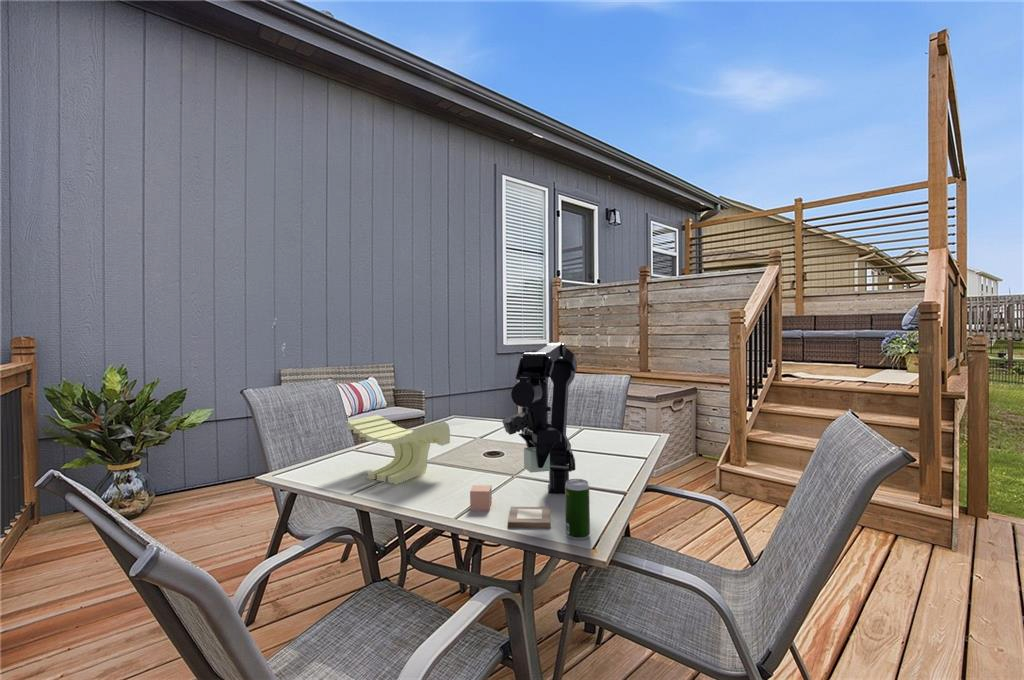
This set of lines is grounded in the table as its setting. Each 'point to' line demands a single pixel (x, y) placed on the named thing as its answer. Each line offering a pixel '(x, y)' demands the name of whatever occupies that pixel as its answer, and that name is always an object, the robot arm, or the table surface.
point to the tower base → (529, 517)
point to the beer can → (577, 509)
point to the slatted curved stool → (401, 445)
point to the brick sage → (534, 461)
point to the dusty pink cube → (480, 497)
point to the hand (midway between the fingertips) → (536, 465)
